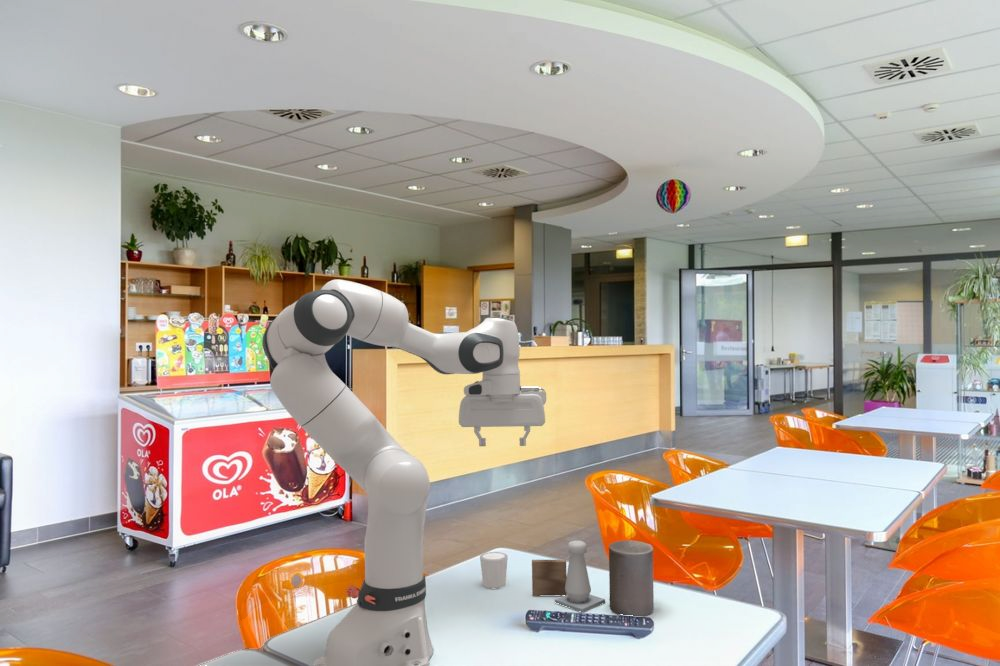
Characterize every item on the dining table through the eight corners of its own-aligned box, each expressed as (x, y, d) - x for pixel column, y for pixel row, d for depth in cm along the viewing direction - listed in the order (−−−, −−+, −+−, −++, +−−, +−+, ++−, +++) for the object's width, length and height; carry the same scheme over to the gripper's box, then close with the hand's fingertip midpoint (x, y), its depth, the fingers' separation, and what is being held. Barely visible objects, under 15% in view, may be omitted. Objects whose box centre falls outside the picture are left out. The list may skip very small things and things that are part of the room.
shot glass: (482, 579, 171) (482, 551, 171) (509, 580, 170) (509, 551, 170) (478, 589, 164) (477, 559, 165) (506, 589, 163) (505, 560, 164)
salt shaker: (586, 606, 150) (585, 546, 150) (561, 602, 152) (560, 544, 153) (594, 597, 155) (592, 539, 156) (570, 593, 158) (569, 537, 158)
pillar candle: (601, 605, 153) (599, 538, 153) (636, 597, 157) (635, 532, 157) (626, 621, 144) (625, 550, 144) (663, 612, 148) (662, 543, 148)
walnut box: (566, 593, 160) (566, 559, 160) (566, 596, 158) (566, 561, 159) (532, 593, 160) (531, 559, 161) (532, 596, 159) (531, 561, 159)
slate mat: (582, 612, 148) (582, 609, 148) (554, 603, 154) (554, 599, 154) (605, 602, 154) (605, 599, 154) (577, 593, 160) (577, 590, 160)
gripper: (545, 385, 162) (547, 443, 162) (460, 386, 163) (461, 444, 163) (546, 386, 156) (547, 447, 156) (457, 388, 157) (458, 448, 157)
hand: (502, 445), depth 159 cm, fingers open, 8 cm apart
